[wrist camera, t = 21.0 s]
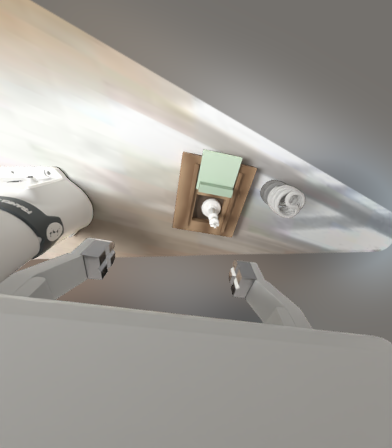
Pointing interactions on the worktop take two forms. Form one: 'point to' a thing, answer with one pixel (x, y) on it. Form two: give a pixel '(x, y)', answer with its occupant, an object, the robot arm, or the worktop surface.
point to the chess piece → (211, 211)
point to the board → (193, 199)
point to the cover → (218, 173)
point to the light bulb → (282, 198)
